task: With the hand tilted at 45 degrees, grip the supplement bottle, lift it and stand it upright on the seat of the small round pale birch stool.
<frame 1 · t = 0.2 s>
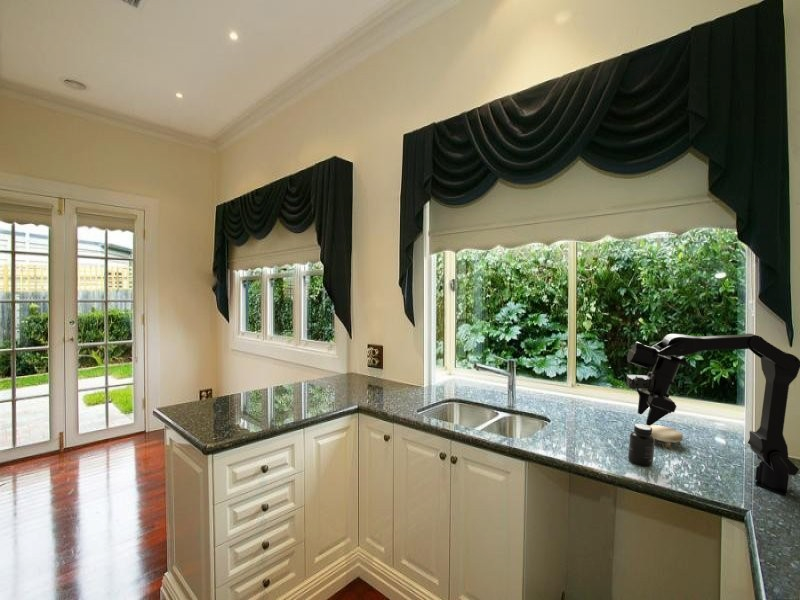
hand: (643, 419, 119), 15 cm above the worktop, tool tilted 15°, fingers open, 9 cm apart
supplement bottle: (640, 462, 123), on the worktop
stool: (661, 440, 138), on the worktop
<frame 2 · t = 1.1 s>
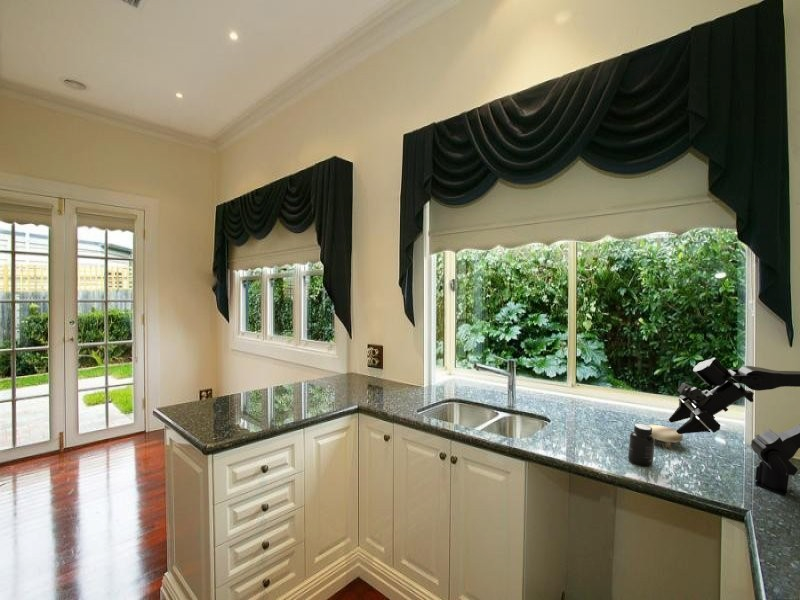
hand: (673, 426, 119), 13 cm above the worktop, tool tilted 45°, fingers open, 9 cm apart
nothing on the worktop moved.
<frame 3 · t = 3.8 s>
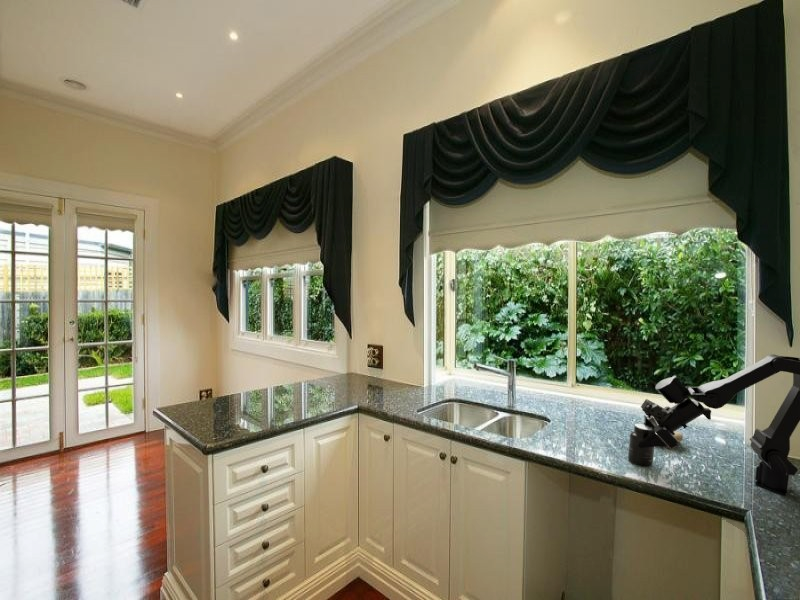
hand: (636, 441, 123), 7 cm above the worktop, tool tilted 45°, fingers closed on supplement bottle, 7 cm apart
supplement bottle: (640, 462, 123), on the worktop, touching gripper
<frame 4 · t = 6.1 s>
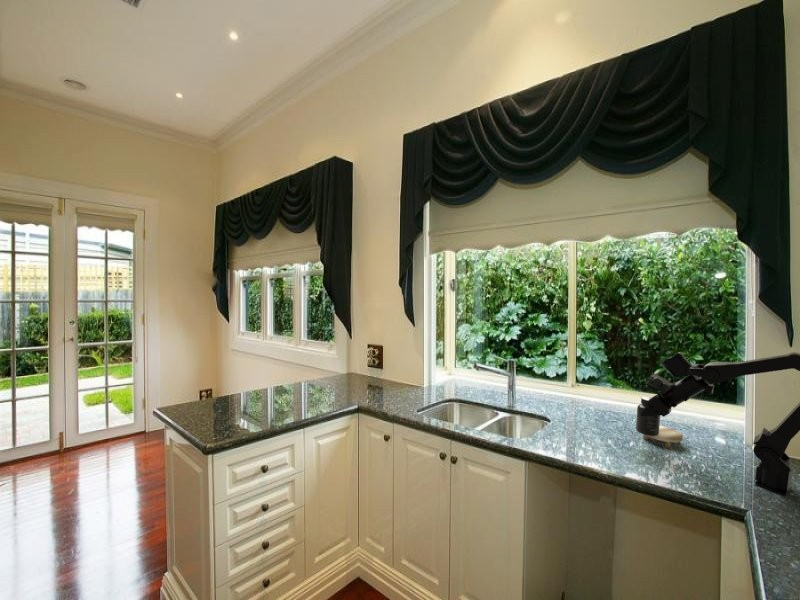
hand: (644, 412, 133), 12 cm above the worktop, tool tilted 45°, fingers closed on supplement bottle, 7 cm apart
supplement bottle: (647, 432, 132), point 5 cm above the worktop, touching gripper
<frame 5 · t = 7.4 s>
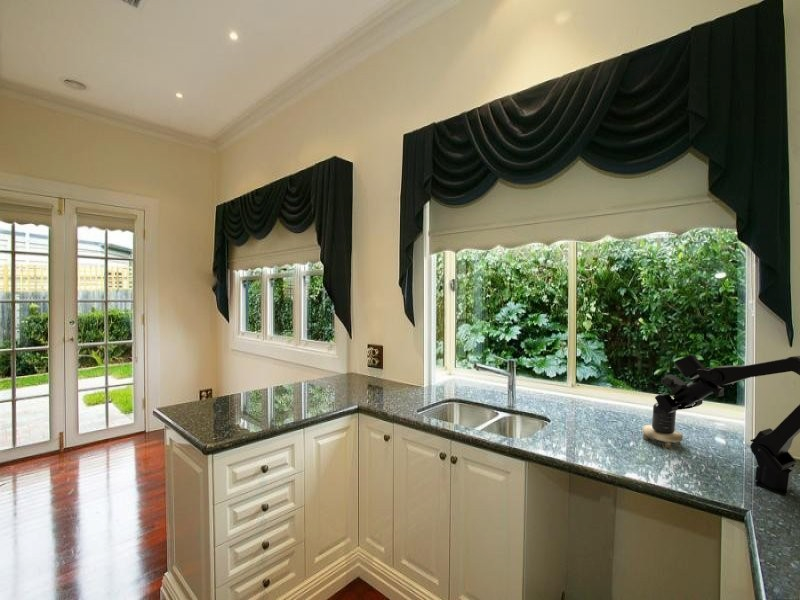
hand: (660, 411, 138), 11 cm above the worktop, tool tilted 45°, fingers closed on supplement bottle, 7 cm apart
supplement bottle: (662, 430, 138), point 4 cm above the worktop, touching gripper
when the fingers open (11 cm above the worktop, at t = 8.5 s): supplement bottle stays where it is, resting on stool.
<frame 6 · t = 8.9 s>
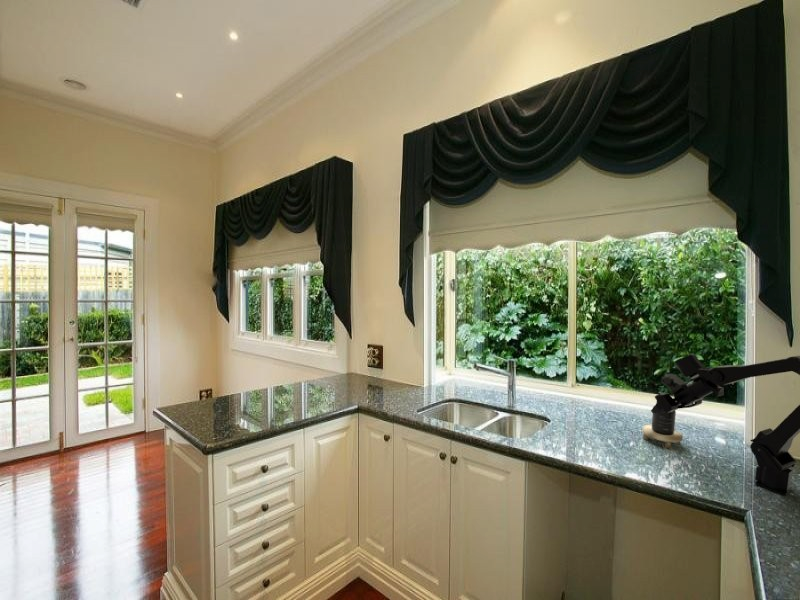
hand: (659, 410, 139), 11 cm above the worktop, tool tilted 45°, fingers open, 9 cm apart
supplement bottle: (662, 432, 138), point 3 cm above the worktop, touching stool
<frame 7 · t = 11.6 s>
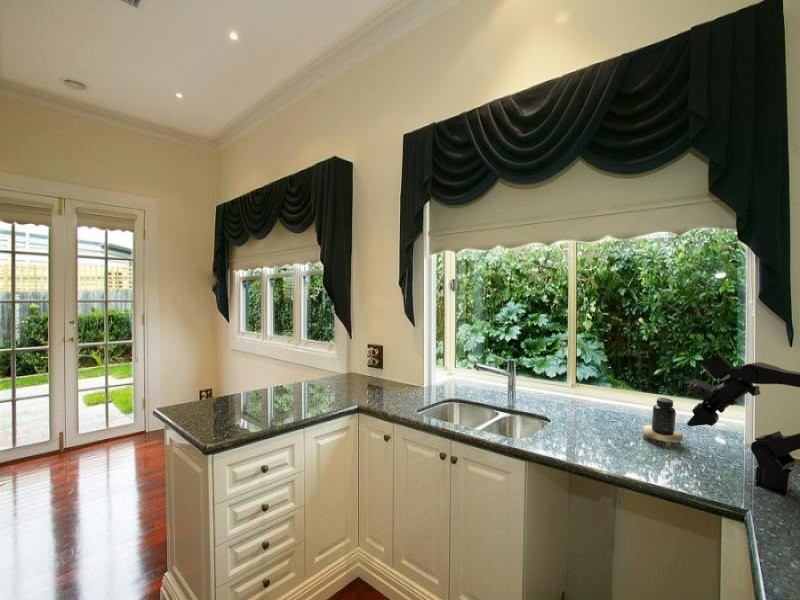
hand: (691, 419, 129), 12 cm above the worktop, tool tilted 35°, fingers open, 9 cm apart
nothing on the worktop moved.
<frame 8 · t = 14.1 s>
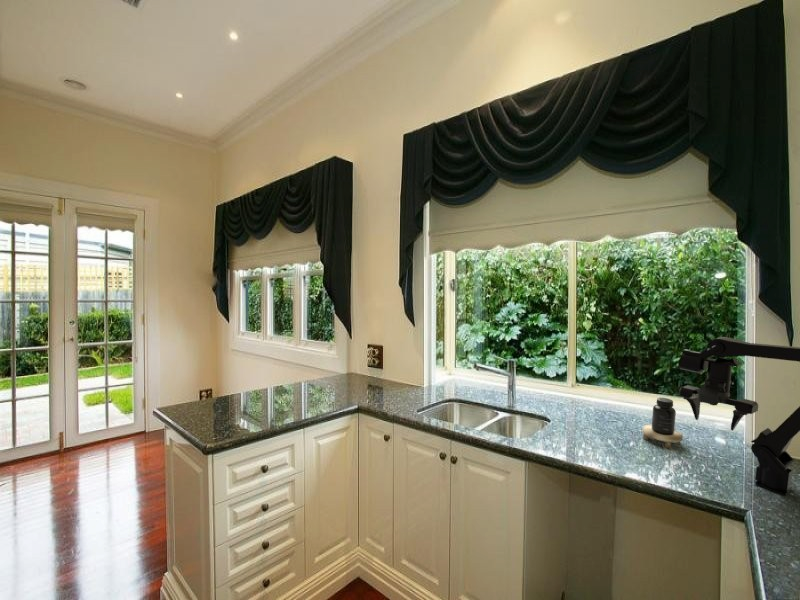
hand: (713, 424, 122), 13 cm above the worktop, tool pointing down, fingers open, 9 cm apart
nothing on the worktop moved.
at the end: supplement bottle 0.2 cm from the stool (horizontally); supplement bottle point 3.3 cm above the worktop; supplement bottle tilted 0° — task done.
